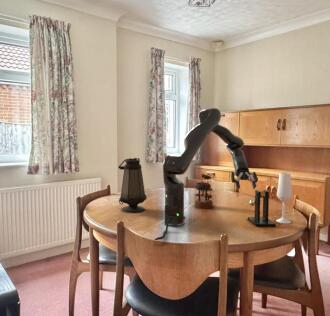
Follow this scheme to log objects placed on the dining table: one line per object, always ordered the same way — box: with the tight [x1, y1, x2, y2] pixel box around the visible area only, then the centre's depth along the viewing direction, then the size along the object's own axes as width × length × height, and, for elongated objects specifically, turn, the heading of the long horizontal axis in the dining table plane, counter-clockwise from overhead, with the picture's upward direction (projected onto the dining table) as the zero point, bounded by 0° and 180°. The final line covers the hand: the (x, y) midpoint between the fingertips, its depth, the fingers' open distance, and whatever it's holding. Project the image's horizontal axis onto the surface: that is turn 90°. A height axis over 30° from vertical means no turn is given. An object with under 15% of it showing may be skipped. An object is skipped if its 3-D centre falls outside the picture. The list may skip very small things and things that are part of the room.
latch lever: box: [248, 190, 265, 207], centre depth 149 cm, size 17×3×3 cm, turn 179°
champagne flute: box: [275, 172, 293, 224], centre depth 145 cm, size 7×7×24 cm
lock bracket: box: [247, 189, 277, 228], centre depth 143 cm, size 12×9×16 cm
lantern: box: [118, 157, 147, 214], centre depth 170 cm, size 18×15×30 cm
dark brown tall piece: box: [193, 173, 214, 210], centre depth 176 cm, size 15×11×20 cm
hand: (246, 187), depth 164 cm, fingers open, 8 cm apart
